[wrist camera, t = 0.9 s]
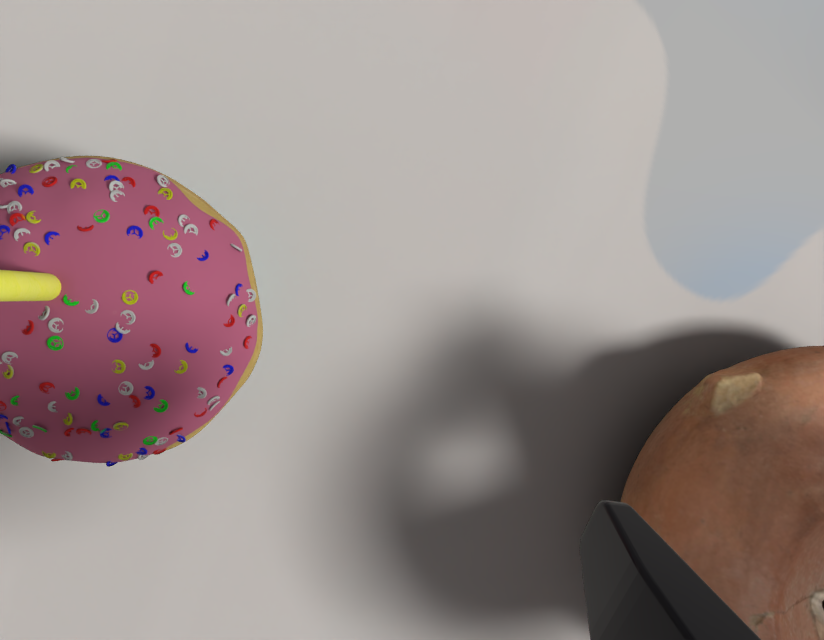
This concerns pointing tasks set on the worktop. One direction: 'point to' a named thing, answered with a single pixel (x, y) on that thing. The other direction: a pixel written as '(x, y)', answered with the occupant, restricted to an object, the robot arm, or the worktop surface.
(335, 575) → the worktop surface
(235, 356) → the cupcake
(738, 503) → the ceramic jug
